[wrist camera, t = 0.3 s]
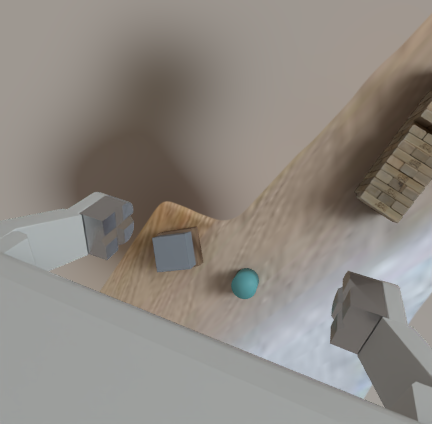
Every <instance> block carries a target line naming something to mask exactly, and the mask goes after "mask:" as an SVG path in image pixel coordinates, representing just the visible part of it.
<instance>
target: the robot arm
mask: <svg viewBox="0 0 432 424" xmlns="http://www.w3.org/2000/svg"><path fill="white" fill-rule="evenodd" d="M132 213H133V205H132V204H131V203H130V202H127V201H124V200H122V199H119V198H115V197H113V196H110V195H106V194H104V193H100V192H94V193H93V194H91V195H89V196H88V197H86V198H85V199H83V200H81V201H80V202H78V203H77V204H75V205H74V206H72V207H70V208H69V209H67V210H66V209H60V210H54V211H49V212H44V213H39V214H34V215H29V216H23V217H18V218H14V219H8V220H3V221H0V424H432V348H431V347H430V345H429V344H428V343H427V342H426V341H425V340H424V339H423V338H422V337H421V335H420V334H419V333H418V332H417V331H416V330H415V329H414V327H411V326H408V323H407V318H406V314H405V309H404V305H403V300H402V296H401V291H400V287H399V286H398V285H395V284H392V283H388V282H385V281H379V280H376V279H373V278H370V277H366V276H363V275H360V274H357V273H353V272H350V271H347V273H346V274H345V276H344V278H343V287H341V288H339V289H338V291H337V293H336V295H335V298H334V301H333V305H332V315H331V316H332V317H333V319H334V321H333V323H332V325H331V336H330V344H333V345H335V346H338V347H340V348H343V349H345V350H348V351H350V352H353V353H355V354H358V358H359V359H360V361H361V363H362V365H363V367H364V369H365V371H366V373H367V375H368V377H369V378H370V380H371V382H372V384H373V386H374V388H375V390H376V392H377V393H378V395H379V397H380V399H381V401H382V403H383V405H384V407H385V408H384V407H381V406H379V405H377V404H374V403H372V402H369V401H367V400H364V399H362V398H359V397H357V396H354V395H352V394H349V393H347V392H345V391H342V390H340V389H337V388H335V387H332V386H330V385H327V384H325V383H322V382H320V381H317V380H315V379H313V378H310V377H308V376H305V375H303V374H300V373H298V372H295V371H293V370H290V369H288V368H285V367H283V366H280V365H278V364H276V363H273V362H271V361H268V360H266V359H263V358H261V357H258V356H256V355H253V354H251V353H248V352H246V351H243V350H241V349H239V348H236V347H234V346H231V345H229V344H226V343H224V342H221V341H219V340H216V339H214V338H211V337H209V336H207V335H204V334H202V333H199V332H197V331H194V330H192V329H189V328H187V327H184V326H182V325H179V324H177V323H175V322H172V321H170V320H167V319H165V318H162V317H160V316H157V315H155V314H152V313H150V312H147V311H145V310H143V309H140V308H138V307H135V306H133V305H130V304H128V303H125V302H123V301H120V300H118V299H115V298H113V297H110V296H108V295H105V294H103V293H100V292H98V291H96V290H93V289H91V288H88V287H86V286H83V285H81V284H78V283H76V282H73V281H71V280H68V279H65V278H63V277H61V276H58V275H56V274H53V273H51V272H49V271H50V270H52V269H55V268H57V267H60V266H62V265H64V264H67V263H69V262H72V261H74V260H77V259H79V258H81V257H84V256H86V255H88V254H91V255H93V256H96V257H100V258H102V259H105V260H108V259H109V258H110V257H111V256H112V255H113V254H114V253H115V252H116V251H117V250H118V245H121V244H124V243H126V242H127V241H128V240H129V238H130V236H131V234H132V233H133V228H134V221H133V220H132V218H131V216H130V215H131V214H132Z"/></svg>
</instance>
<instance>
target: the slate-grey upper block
mask: <svg viewBox="0 0 432 424" xmlns="http://www.w3.org/2000/svg"><path fill="white" fill-rule="evenodd" d="M152 240H153V246H154V253H155V260H156V266H157V272H164V271H174V270H184V269H191V268H192V267H193V266H194V265H196V262H195V255H194V248H193V242H192V235H191V232H184V233H176V234H168V235H160V236H157V237H154V238H152Z"/></svg>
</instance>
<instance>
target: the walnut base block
mask: <svg viewBox="0 0 432 424" xmlns="http://www.w3.org/2000/svg"><path fill="white" fill-rule="evenodd" d="M184 232H191V235H192V242H193V248H194V255H195V262H196V265H194V266H193V267H195V266H199V265H200V264H202V263H203V257H202V251H201V246H200V240H199V234H198V228H197V227H192V228H186V229H179V230H173V231H166V232H162V233H159V234H157V235H158V236H160V235H168V234H176V233H184Z"/></svg>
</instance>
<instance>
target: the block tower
mask: <svg viewBox="0 0 432 424" xmlns="http://www.w3.org/2000/svg"><path fill="white" fill-rule="evenodd" d="M431 180H432V90H431V91H430V92H429V93H427V95H426V96H425V97H424V99H423V100H422V101H421V102H420V103H419V105H418V107H417V108H416V109H415V111H414V112H413V113H412V114H411V115H410V117H409V118H408V121H406V122H405V124H404V125H403V127H401V128H400V130H399V131H398V132H397V134H396V135H395V136H394V138H393V139H392V141H391V143H390V144H389V145H388V147H387V148H386V149H385V150H384V151H383V153H382V154H381V156H380V157H379V158H378V160H377V161H376V162H375V164H374V165H373V167H372V168H371V170H370V171H369V172H368V174H367V175H366V176H365V178H364V180H363V181H362V182H361V183H360V185H359V187H358V188H357V189H356V190H355V193H356V194H358V195H357V197H356V198H358V199H359V200H361V201H362V202H364V203H365V204H366V205H368V206H369V207H371V208H372V209H374V210H375V211H377V212H378V213H380V214H381V215H383V216H384V217H386V218H387V219H389V220H390V221H392V222H395V223H398V222H399V221H400V220H401V219H402V218H403V215H404V214H405V213H406V212H407V211H408V209H409V208H410V207H411V206H412V204H413V203H414V201H415V200H416V199H417V197H418V196H419V194H421V193H422V192H423V191H424V189H425V186H427V185H428V184H429V182H430V181H431Z"/></svg>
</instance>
